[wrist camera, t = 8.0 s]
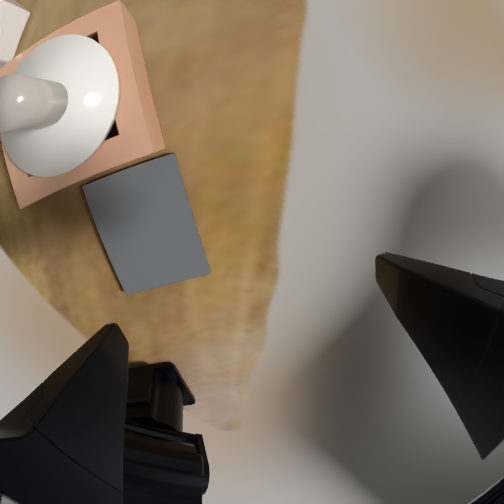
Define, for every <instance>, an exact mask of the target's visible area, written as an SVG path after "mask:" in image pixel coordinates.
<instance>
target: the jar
mask: <svg viewBox="0 0 504 504" xmlns="http://www.w3.org/2000/svg"><path fill="white" fill-rule="evenodd" d="M29 16H30V12H29V11H27V10H26V9H25V8H23V7H22V6H21V5H20V4H18V3H17V2H16V1H14V0H0V69H1V68H2V67H3V66H5V65H6V64H7V63H8V62H10V61H11V60H12V59H13V58H14V55H15V52H16V49H17V46H18V44H19V41H20V38H21V35H22V33H23V30H24V28H25V25H26V23H27V20H28V18H29Z"/></svg>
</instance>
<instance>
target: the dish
mask: <svg viewBox="0 0 504 504" xmlns="http://www.w3.org/2000/svg"><path fill="white" fill-rule="evenodd" d="M69 34H74V35H82V36H86V37H88V38H91V39H93V40H94V41H96V42H97V43H99V44H100V45H102V46H103V47H104V48H105V49H106V50H107V51H108V52H109V53H110V54H111V56H112V57H113V59H114V61H115V63H116V65H117V68H118V72H119V76H120V83H121V94H120V103H119V108H118V112H117V115H116V119H115V122H114V124H113V126H112V128H111V131H110V132H109V134H108V136H107V138H106V140H105V141H104V142H103V144H102V145H101V147H100V148H99V149H98V150H97V151H96V152H95V154H94V155H93V156H92V157H90V158H89V159H88V160H87V161H86V162H84V163H83V164H82V165H80V166H79V167H77V168H75V169H73V170H71V171H68V172H65V173H63V174H60V175H57V176H52V177H38V176H34V175H31V174H29V173H26V172H24V171H23V170H22V169H20V168H19V167H18V166H17V165H16V164H15V163H14V162H13V161H12V160H11V158H10V157H9V155H8V154H7V152H6V150H5V147H4V145H3V142H2V138H1V133H0V140H1V144H2V149H3V153H4V157H5V161H6V165H7V169H8V172H9V176H10V179H11V183H12V186H13V189H14V192H15V195H16V198H17V201H18V204H19V207H20V210H21V209H22V208H24V207H26V206H28V205H30V204H32V203H34V202H36V201H38V200H40V199H42V198H44V197H46V196H48V195H50V194H52V193H54V192H56V191H58V190H61V189H63V188H65V187H67V186H69V185H72V184H74V183H76V182H78V181H81V180H83V179H85V178H88V177H90V176H92V175H95V174H97V173H100V172H102V171H105V170H107V169H110V168H113V167H115V166H118V165H120V164H123V163H126V162H129V161H131V160H134V159H137V158H140V157H143V156H146V155H148V154H151V153H154V152H157V151H159V150H162V149H164V148H166V147H165V143H164V140H163V136H162V132H161V128H160V125H159V121H158V117H157V113H156V109H155V105H154V101H153V97H152V93H151V89H150V85H149V80H148V76H147V72H146V67H145V63H144V58H143V54H142V49H141V45H140V40H139V35H138V30H137V25H136V21H135V19H134V18H133V17H132V15H131V14H130V13H129V11H128V10H127V9H126V7H125V6H124V5H123V3H122V2H121V1H120V0H119V1H116V2H114V3H111V4H109V5H107V6H104V7H102V8H100V9H97V10H95V11H93V12H91V13H89V14H87V15H85V16H83V17H81V18H79V19H77V20H75V21H73V22H71V23H69V24H67V25H65V26H64V27H62V28H60V29H58V30H57V31H55V32H53V33H51V34H50V35H48V36H46V37H45V38H43V39H42V40H40V41H38V42H37V43H35V44H34V45H32V46H31V47H29V48H28V49H26V50H25V51H24V52H22V53H21V54H19V55H18V56H16V57H15V58H14V59H12V60H11V61H10V62H8V63H7V64H6V65H5V66H3V67H2V68H1V69H0V78H1V77H2V76H4V75H6V74H13V72H14V71H15V69H16V68H17V66H18V65H19V64H20V62H21V61H22V60H23V59H24V58H25V57H26V56H27V55H28V54H29V53H30V52H31V51H32V50H33V49H35V48H36V47H38V46H39V45H40V44H42V43H44V42H46V41H47V40H50V39H52V38H55V37H58V36H62V35H69Z"/></svg>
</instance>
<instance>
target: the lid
mask: <svg viewBox="0 0 504 504" xmlns="http://www.w3.org/2000/svg"><path fill="white" fill-rule="evenodd" d="M120 94H121V83H120V76H119V72H118V68H117V65H116V63H115V61H114V59H113V57H112V56H111V54H110V53H109V52H108V51H107V50H106V49H105V48H104V47H103V46H102V45H100V44H99V43H97V42H96V41H94V40H93V39H91V38H88V37H86V36H82V35H74V34H69V35H62V36H58V37H55V38H52V39H50V40H47V41H46V42H44V43H42V44H40V45H39V46H38V47H36V48H35V49H33V50H32V51H31V52H30V53H29V54H28V55H27V56H26V57H25V58H24V59H23V60H22V61H21V62H20V64H19V65H18V66H17V68H16V69H15V71H14V72H13V74H6V75H4V76H2V77H1V78H0V133H1V138H2V142H3V145H4V147H5V150H6V152H7V154H8V155H9V157H10V158H11V160H12V161H13V162H14V163H15V164H16V165H17V166H18V167H19V168H20V169H22V170H23V171H24V172H26V173H29V174H31V175H34V176H38V177H52V176H57V175H60V174H63V173H65V172H68V171H71V170H73V169H75V168H77V167H79V166H80V165H82V164H83V163H84V162H86V161H87V160H88V159H89V158H90V157H92V156H93V155H94V154H95V152H96V151H97V150H98V149H99V148H100V147H101V145H102V144H103V142H104V141H105V140H106V138H107V136H108V134H109V132H110V131H111V128H112V126H113V124H114V122H115V119H116V115H117V112H118V108H119V103H120Z"/></svg>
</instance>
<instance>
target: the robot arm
mask: <svg viewBox="0 0 504 504" xmlns="http://www.w3.org/2000/svg"><path fill="white" fill-rule="evenodd" d="M375 265H376V281H377V283H378V285H379V287H380V289H381V290H382V292H383V294H384V296H385V297H386V299H387V301H388V303H389V305H390V306H391V308H392V310H393V312H394V314H395V315H396V317H397V318H398V320H399V321H400V323H401V324H402V326H403V327H404V328H405V330H406V331H407V333H408V334H409V336H410V337H411V339H412V340H413V342H414V343H415V345H416V346H417V348H418V349H419V351H420V352H421V354H422V355H423V357H424V359H425V360H426V362H427V363H428V365H429V366H430V368H431V369H432V371H433V373H434V374H435V376H436V378H437V379H438V381H439V382H440V384H441V386H442V387H443V389H444V391H445V392H446V394H447V396H448V397H449V399H450V401H451V402H452V404H453V406H454V408H455V409H456V412H457V413H458V415H459V417H460V419H461V420H462V422H463V424H464V426H465V428H466V430H467V431H468V433H469V435H470V437H471V439H472V441H473V443H474V445H475V446H476V449H477V451H478V453H479V454H480V457H481V458H482V460H484V459H485V458H487V457H488V456H489V455H490V454H492V453H493V452H494V451H495V450H497V449H498V448H499V447H500V446H501V445H503V443H504V281H502V280H497V279H492V278H488V277H484V276H480V275H477V274H473V273H472V274H471V273H469V272H465V271H461V270H457V269H454V268H449V267H446V266H441V265H438V264H434V263H430V262H426V261H422V260H418V259H413V258H409V257H405V256H401V255H397V254H392V253H388V252H386V253H383V254H379V255H377V257H376V260H375ZM128 356H129V345H128V341H127V339H126V338H125V336H124V334H123V333H122V331H121V329H120V327H119V326H118V325H117V324H116V323H111V324H106V325H105V326H103V327H102V328H101V329H100V330H99V331H98V332H97V333H96V334H94V335H93V336H92V337H91V338H90V339H89V340H88V341H87V342H86V343H85V344H83V345H82V346H81V347H80V348H79V349H78V350H77V351H76V352H75V353H73V354H72V355H71V356H70V357H69V358H68V359H67V360H66V361H65V362H64V363H63V364H62V365H60V366H59V367H58V368H57V369H56V370H55V371H54V372H53V373H52V374H51V375H50V376H49V377H48V378H47V379H46V380H45V381H44V383H41V384H40V385H39V386H38V387H37V388H36V389H35V390H34V391H33V392H32V393H31V394H30V395H29V396H28V397H26V398H25V399H24V400H23V401H22V402H21V403H20V404H19V405H17V406H16V407H15V408H14V409H13V410H12V411H11V412H9V413H8V414H7V415H6V416H5V417H4V418H2V419H1V420H0V504H202V495H204V494H205V492H206V490H207V488H208V484H209V464H208V460H207V455H206V451H205V446H204V442H203V438H202V435H201V434H191V433H185V432H182V429H183V406H185V405H192V404H194V403H195V398H194V396H193V395H192V393H191V391H190V390H189V388H188V386H187V385H186V383H185V382H184V380H183V378H182V377H181V375H180V373H179V372H178V370H177V368H176V366H175V365H174V364H172V363H165V364H159V365H153V366H147V367H141V368H134V369H128ZM468 504H504V476H503V477H501V478H500V479H499V480H498V481H497V482H496V483H494V484H493V485H492V486H491V487H489V488H488V489H487V490H486V491H484V492H483V493H482V494H480V495H479V496H478V497H476V498H475V499H473V500H472V501H471V502H469V503H468Z"/></svg>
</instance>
